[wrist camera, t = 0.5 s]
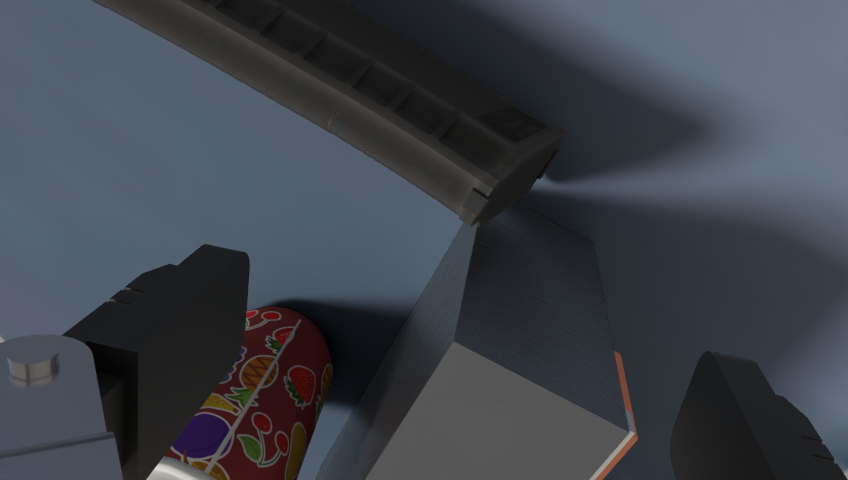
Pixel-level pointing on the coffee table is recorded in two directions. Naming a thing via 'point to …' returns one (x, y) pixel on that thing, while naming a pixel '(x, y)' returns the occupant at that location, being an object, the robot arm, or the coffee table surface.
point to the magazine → (368, 93)
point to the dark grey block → (495, 367)
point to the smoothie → (258, 406)
